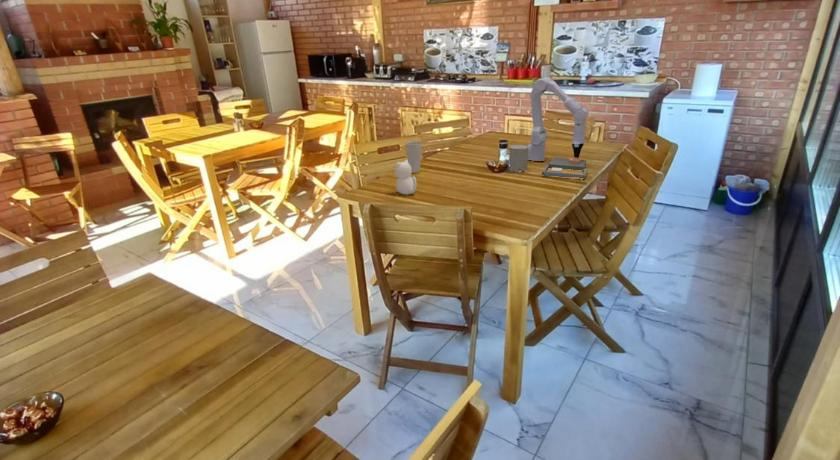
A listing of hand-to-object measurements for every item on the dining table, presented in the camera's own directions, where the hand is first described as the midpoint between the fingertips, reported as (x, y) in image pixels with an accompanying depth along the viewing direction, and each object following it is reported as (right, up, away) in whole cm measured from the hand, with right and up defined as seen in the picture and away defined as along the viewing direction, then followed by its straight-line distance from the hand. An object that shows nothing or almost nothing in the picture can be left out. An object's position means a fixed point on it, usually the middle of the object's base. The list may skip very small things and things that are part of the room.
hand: (576, 157), depth 239 cm
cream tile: (-14, -8, -12) cm, 20 cm away
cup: (-86, -8, 0) cm, 87 cm away
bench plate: (-6, -6, -2) cm, 8 cm away
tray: (-11, -11, -13) cm, 20 cm away
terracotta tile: (-3, -4, -5) cm, 7 cm away
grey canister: (-32, -7, -3) cm, 33 cm away
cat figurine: (-89, -22, -31) cm, 97 cm away
